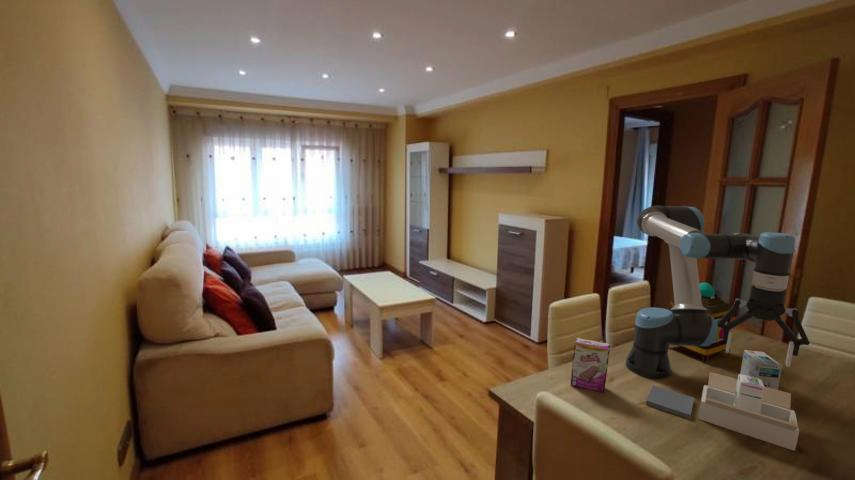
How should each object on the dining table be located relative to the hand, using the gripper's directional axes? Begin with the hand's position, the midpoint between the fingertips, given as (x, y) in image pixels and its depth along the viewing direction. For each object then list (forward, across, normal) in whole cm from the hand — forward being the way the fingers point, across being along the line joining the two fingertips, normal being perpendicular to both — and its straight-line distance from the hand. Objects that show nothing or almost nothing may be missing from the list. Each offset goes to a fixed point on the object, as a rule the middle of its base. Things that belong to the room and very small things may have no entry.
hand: (756, 357), depth 115 cm
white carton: (+22, 0, 0) cm, 22 cm away
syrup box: (+22, 0, 0) cm, 22 cm away
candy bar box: (+22, -43, -9) cm, 49 cm away
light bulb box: (+22, +4, +32) cm, 39 cm away
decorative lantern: (+21, -16, +50) cm, 57 cm away
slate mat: (+21, -19, -2) cm, 29 cm away
